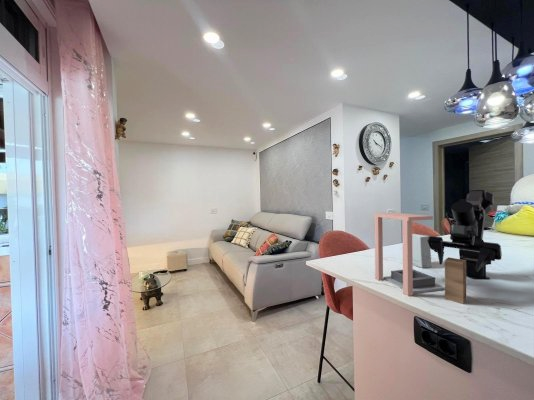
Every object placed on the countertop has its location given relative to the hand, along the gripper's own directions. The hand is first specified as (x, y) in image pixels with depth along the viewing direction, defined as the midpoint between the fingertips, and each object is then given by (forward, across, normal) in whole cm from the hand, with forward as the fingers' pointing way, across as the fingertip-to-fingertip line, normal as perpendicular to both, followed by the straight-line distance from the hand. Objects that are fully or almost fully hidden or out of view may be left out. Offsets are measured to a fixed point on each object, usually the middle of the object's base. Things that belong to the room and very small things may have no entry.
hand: (457, 267), depth 72 cm
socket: (+7, -14, +8) cm, 17 cm away
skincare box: (-12, -20, +27) cm, 36 cm away
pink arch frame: (+10, -16, +4) cm, 19 cm away
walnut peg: (+9, 0, +5) cm, 10 cm away
